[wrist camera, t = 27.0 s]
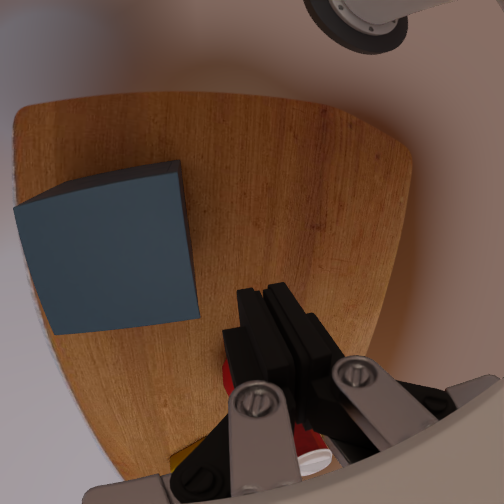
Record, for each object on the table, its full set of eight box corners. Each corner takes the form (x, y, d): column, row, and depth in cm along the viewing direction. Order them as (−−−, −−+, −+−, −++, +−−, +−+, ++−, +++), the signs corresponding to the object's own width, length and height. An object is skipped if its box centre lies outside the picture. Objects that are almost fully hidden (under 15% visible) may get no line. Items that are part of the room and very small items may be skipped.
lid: (199, 313, 26) (200, 318, 26) (56, 330, 24) (54, 335, 23) (177, 171, 22) (177, 172, 21) (17, 205, 19) (12, 207, 19)
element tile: (165, 458, 54) (167, 474, 50) (209, 433, 52) (212, 451, 48) (213, 473, 60) (216, 488, 56) (256, 450, 59) (261, 466, 54)
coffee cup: (261, 419, 54) (282, 479, 40) (277, 394, 52) (303, 457, 38) (296, 419, 57) (321, 474, 43) (314, 395, 54) (344, 452, 41)
